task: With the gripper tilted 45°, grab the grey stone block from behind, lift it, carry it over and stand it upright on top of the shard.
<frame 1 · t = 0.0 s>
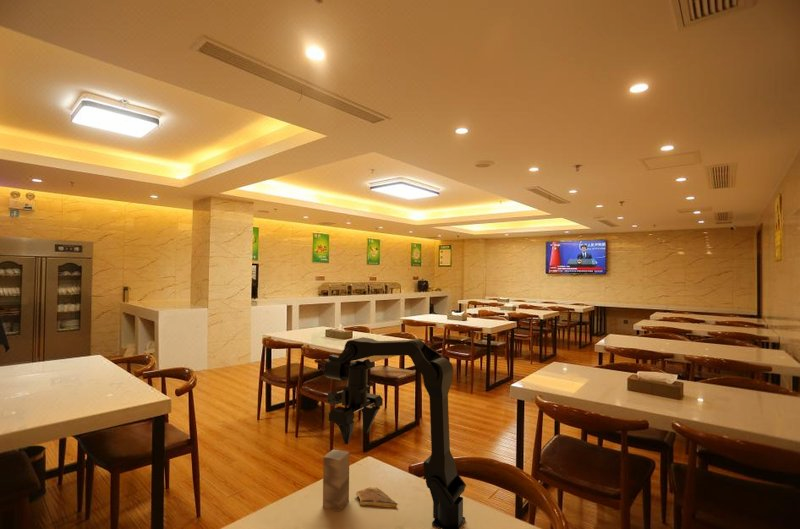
hand: (356, 437, 111), 15 cm above the table, tool pointing down, fingers open, 9 cm apart
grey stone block: (335, 503, 104), on the table
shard: (377, 500, 107), on the table
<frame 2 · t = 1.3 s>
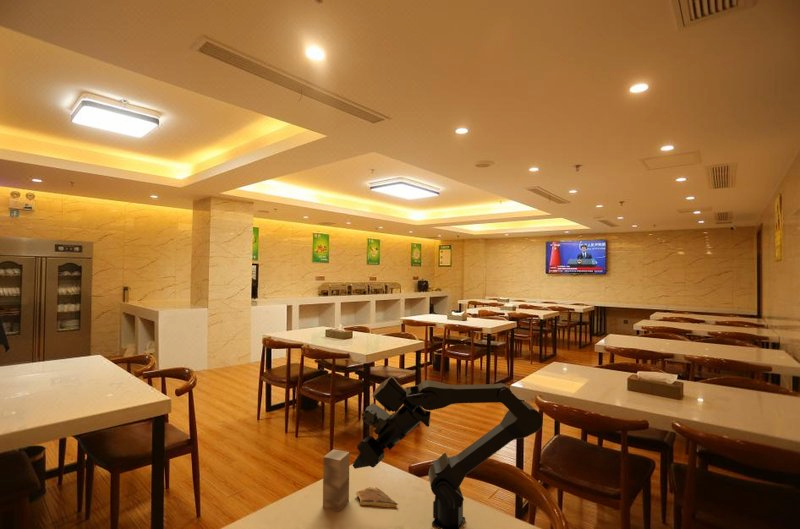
hand: (362, 458, 102), 13 cm above the table, tool tilted 45°, fingers open, 9 cm apart
nothing on the table moved.
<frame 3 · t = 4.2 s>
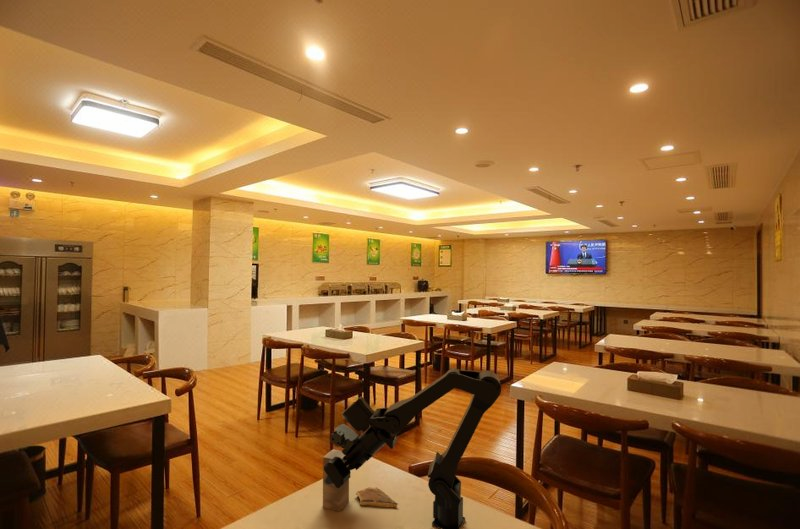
hand: (331, 477, 105), 7 cm above the table, tool tilted 45°, fingers closed on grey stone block, 5 cm apart
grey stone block: (335, 503, 104), on the table, touching gripper
everything else where it was.
when the fingers open (10 cm above the table, at t = 8.2 s): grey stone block drops 2 cm, point 2 cm above the table.
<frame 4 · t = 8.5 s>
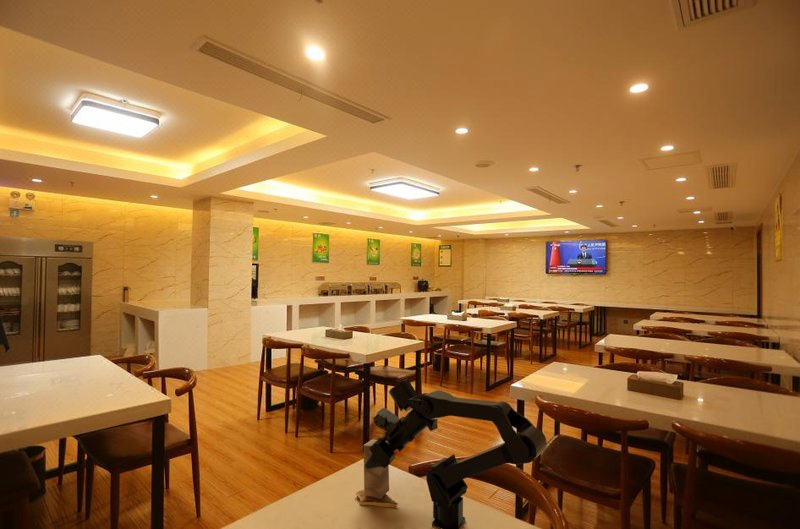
hand: (373, 459, 108), 10 cm above the table, tool tilted 45°, fingers open, 9 cm apart
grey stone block: (376, 492, 107), point 2 cm above the table, tilted 5°
everything else where it was.
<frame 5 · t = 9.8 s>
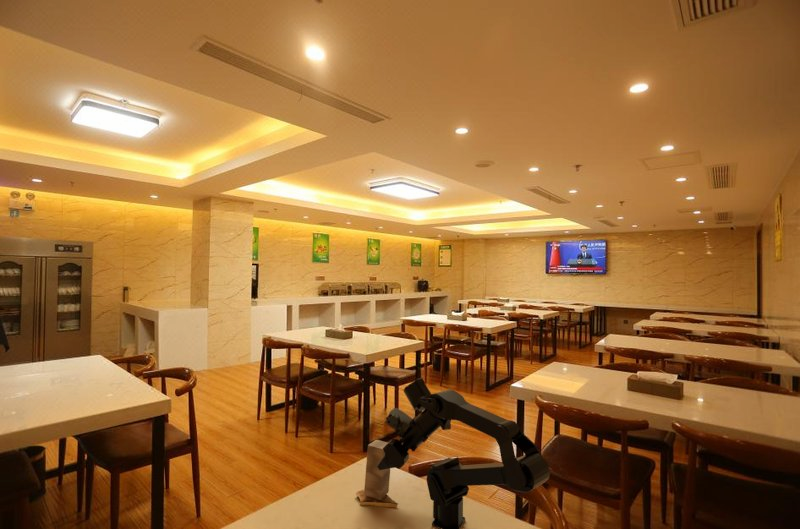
hand: (385, 460, 106), 11 cm above the table, tool tilted 45°, fingers open, 9 cm apart
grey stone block: (376, 493, 107), point 1 cm above the table, touching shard
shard: (377, 500, 107), on the table, touching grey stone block
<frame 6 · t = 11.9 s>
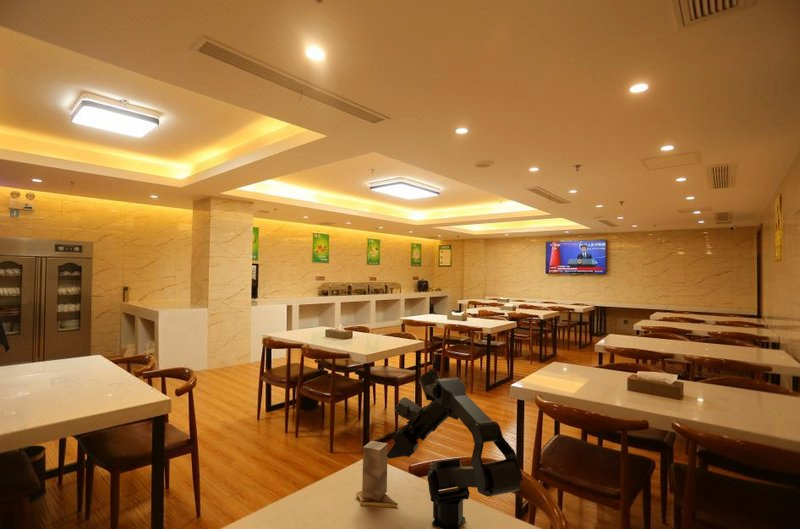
hand: (394, 449, 106), 14 cm above the table, tool tilted 45°, fingers open, 9 cm apart
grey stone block: (374, 494, 107), point 1 cm above the table
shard: (377, 501, 107), on the table
at the end: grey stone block inside the target area on the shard (1.3 cm from its centre), point 2.1 cm above the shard's base; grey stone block tilted 1°; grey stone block touching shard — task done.
